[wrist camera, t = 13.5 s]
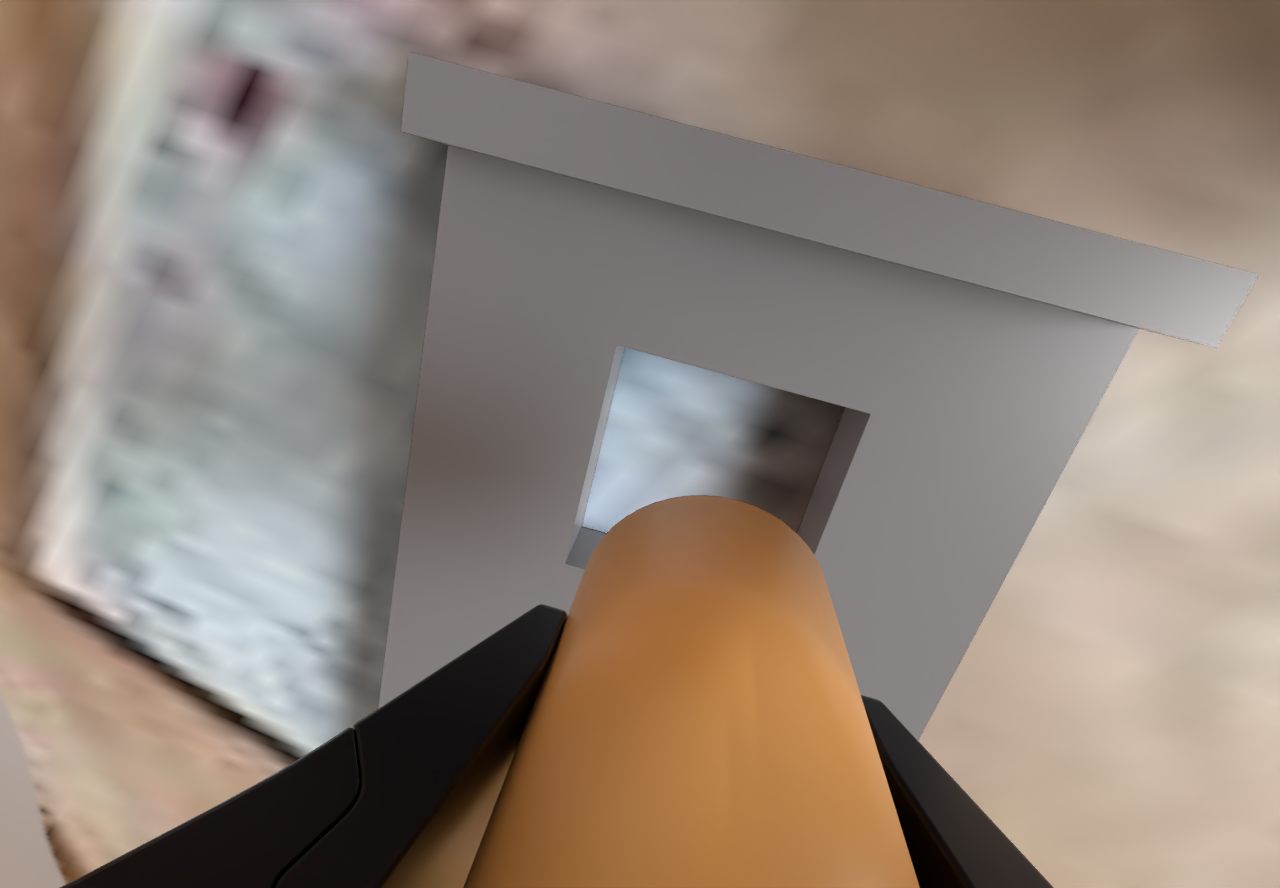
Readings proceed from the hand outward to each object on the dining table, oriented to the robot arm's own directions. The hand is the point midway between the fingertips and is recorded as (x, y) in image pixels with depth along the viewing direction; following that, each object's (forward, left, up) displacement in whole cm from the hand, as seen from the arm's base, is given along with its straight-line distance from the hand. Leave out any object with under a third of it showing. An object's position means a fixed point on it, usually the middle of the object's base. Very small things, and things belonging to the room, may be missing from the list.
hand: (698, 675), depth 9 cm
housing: (-5, 0, -8) cm, 9 cm away
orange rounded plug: (0, 0, -2) cm, 2 cm away
